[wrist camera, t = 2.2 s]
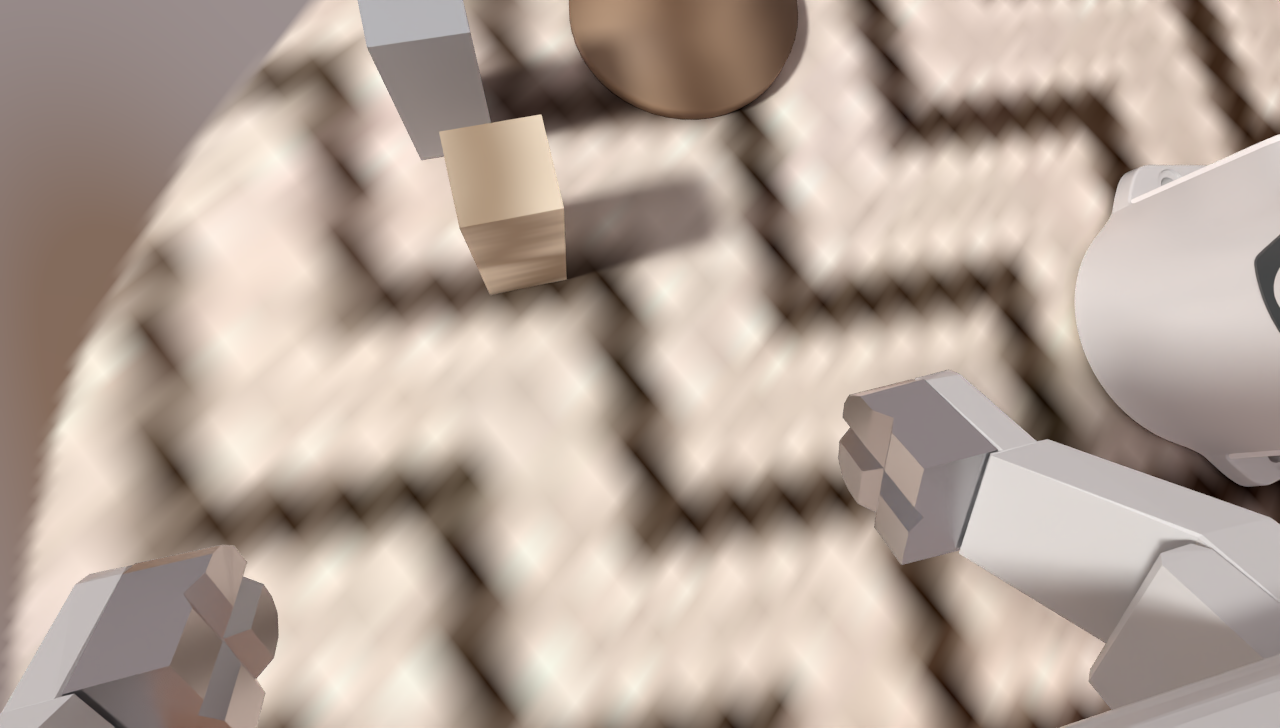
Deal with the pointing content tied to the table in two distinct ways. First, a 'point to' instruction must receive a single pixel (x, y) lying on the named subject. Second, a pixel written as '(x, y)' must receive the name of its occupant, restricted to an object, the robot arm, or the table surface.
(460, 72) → the slate grey block
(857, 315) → the table surface
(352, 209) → the table surface
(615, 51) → the walnut board
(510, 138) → the birch block
